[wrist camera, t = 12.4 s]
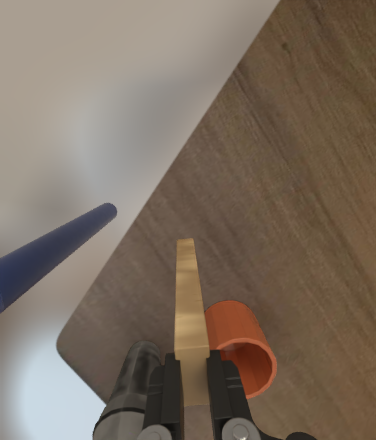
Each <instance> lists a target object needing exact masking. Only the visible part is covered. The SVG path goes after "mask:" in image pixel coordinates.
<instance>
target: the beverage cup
mask: <svg viewBox="0 0 376 440" xmlns="http://www.w3.org/2000/svg"><path fill="white" fill-rule="evenodd" d="M155 366H161V359H160V351H159V348H158V347H157V346H156V345H155V344H154V343H152V342H149V341H140V342H137V343H135V344H134V345H133V346H132V347H131V348H130V351H129V353H128V355H127V357H126V359H125V362H124V364H123V367H122V369H121V372H120V374H119V377H118V379H117V382H116V384H115V387H114V389H113V392H112V394H111V397H110V399H109V402H108V404H107V406H106V407H105V408H104V410H103V412H102V414H101V416H100V418H99V421H98V422H97V423H96V424H95V428H94V431H93V440H136V439H137V437H138V435H139V434H140V433H141V431H142V427H143V421H144V414H145V407H146V400H147V393H148V387H149V379H150V374H151V373H152V371H153V370H154V368H155Z"/></svg>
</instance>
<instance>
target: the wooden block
mask: <svg viewBox="0 0 376 440" xmlns="http://www.w3.org/2000/svg"><path fill="white" fill-rule="evenodd" d="M174 352H175V359H176V360H180V364H181V374H182V384H183V394H184V406H193V405H204V404H210V403H209V394H208V379H207V364H206V358H209V357H210V349H209V340H208V334H207V327H206V320H205V314H204V307H203V300H202V294H201V287H200V280H199V274H198V267H197V260H196V254H195V247H194V240H193V238H191V239H180V240H177V255H176V296H175V337H174Z"/></svg>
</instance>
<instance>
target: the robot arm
mask: <svg viewBox="0 0 376 440" xmlns="http://www.w3.org/2000/svg"><path fill="white" fill-rule="evenodd" d="M206 364H207V379H208V394H209V403H210V411H211V419H212V428H213V436H214V440H282V439H278V438H274V437H271V436H268V435H266V434H265V433H263V432H262V431H261V430H259V429H258V427H257V426H256V425H255V424H254V422H253V420H252V417H251V413H250V410H249V406H248V402H247V399H246V395H245V392H244V388H243V384H242V381H241V377H240V374H239V370H238V367H237V366H236V365H235V364H234V362H233V361H232V360H223V361H222V359H221V355H220V350H219V349H215V350H210V357H209V358H206ZM136 440H184V394H183V384H182V374H181V364H180V360H176V359H175V353H168V354H166V357H165V366H155V368H154V370H153V371H152V373H151V374H150V379H149V387H148V393H147V400H146V407H145V414H144V421H143V427H142V431H141V433H140V434H139V435H138V437H137V439H136ZM286 440H317V439H315V438H314V437H313V436H311V435H309V434H307V433H303V432H295V433H292V434H290V435H289V436H288V437H287V438H286Z"/></svg>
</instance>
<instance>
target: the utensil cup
mask: <svg viewBox="0 0 376 440" xmlns="http://www.w3.org/2000/svg"><path fill="white" fill-rule="evenodd" d="M204 314H205V320H206V327H207V334H208V340H209V349H210V350H215V349H219V350H220V355H221V359H222V361H223V360H232V361H233V362H234V364H235V365H236V366H237V367H238V370H239V374H240V377H241V381H242V384H243V388H244V392H245V395H246V399H250V398H252V397H254V396H257V395H259V394H261V393H262V392H264V391H265V390H266V389H267V388H268V387H269V386H270V385H271V384H272V381H273V379H274V377H275V375H276V359H275V356H274V354H273V352H272V350H271V348H270V346H269V344H268V342H267V340H266V338H265V336H264V334H263V332H262V330H261V328H260V326H259V324H258V322H257V320H256V318H255V316H254V314H253V312H252V311H251V309H250V308H249V307H248V306H246V305H245V304H243V303H240V302H238V301H232V300H227V301H221V302H218V303H216V304H214V305H212V306H211V307H209V308H208V309H207V310H206V312H205V313H204Z"/></svg>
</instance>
